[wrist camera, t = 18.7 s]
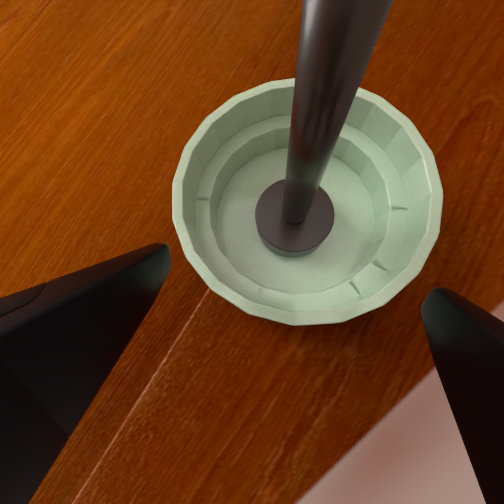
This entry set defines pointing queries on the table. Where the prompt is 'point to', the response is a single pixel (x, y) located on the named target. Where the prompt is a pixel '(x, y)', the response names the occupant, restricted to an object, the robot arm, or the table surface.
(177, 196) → the mixing bowl
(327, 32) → the joystick
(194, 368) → the table surface
